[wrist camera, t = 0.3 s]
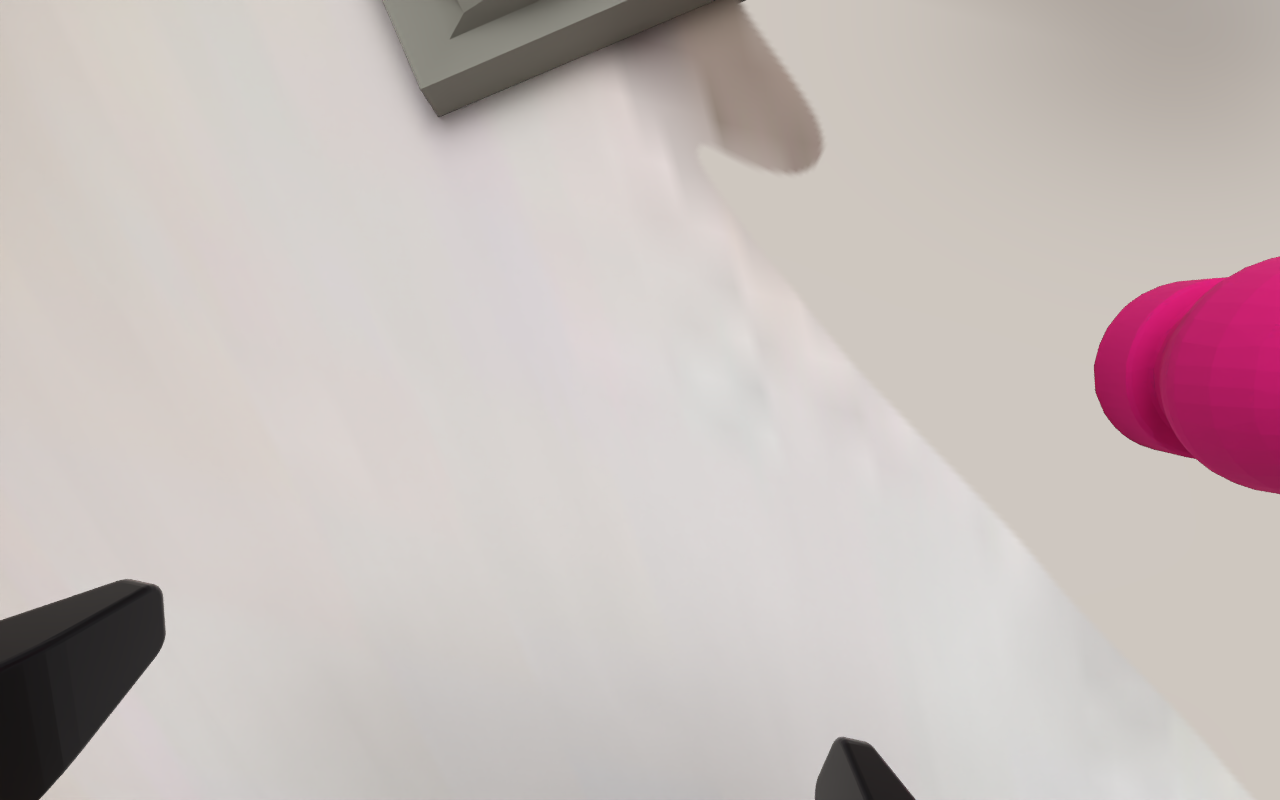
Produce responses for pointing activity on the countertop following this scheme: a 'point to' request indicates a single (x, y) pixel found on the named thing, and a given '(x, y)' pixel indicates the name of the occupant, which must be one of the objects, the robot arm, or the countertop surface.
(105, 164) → the countertop surface
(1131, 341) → the pepper mill
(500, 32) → the soap mold
